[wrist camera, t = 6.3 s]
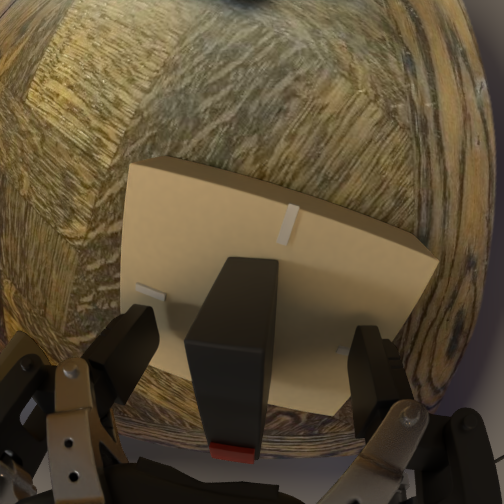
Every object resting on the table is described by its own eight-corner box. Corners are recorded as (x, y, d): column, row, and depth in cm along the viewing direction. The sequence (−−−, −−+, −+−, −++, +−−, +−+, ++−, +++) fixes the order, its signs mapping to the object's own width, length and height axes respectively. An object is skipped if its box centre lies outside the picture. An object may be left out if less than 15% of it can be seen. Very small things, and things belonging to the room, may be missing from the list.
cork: (53, 380, 23) (7, 442, 13) (18, 349, 23) (-30, 404, 13) (51, 356, 21) (-7, 427, 11) (13, 321, 20) (-46, 380, 10)
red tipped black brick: (227, 255, 10) (177, 347, 5) (279, 259, 9) (264, 359, 5) (232, 372, 12) (208, 459, 8) (271, 376, 12) (257, 466, 8)
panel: (413, 231, 11) (443, 260, 8) (329, 379, 16) (332, 419, 13) (164, 153, 12) (127, 160, 9) (145, 323, 16) (121, 356, 13)
